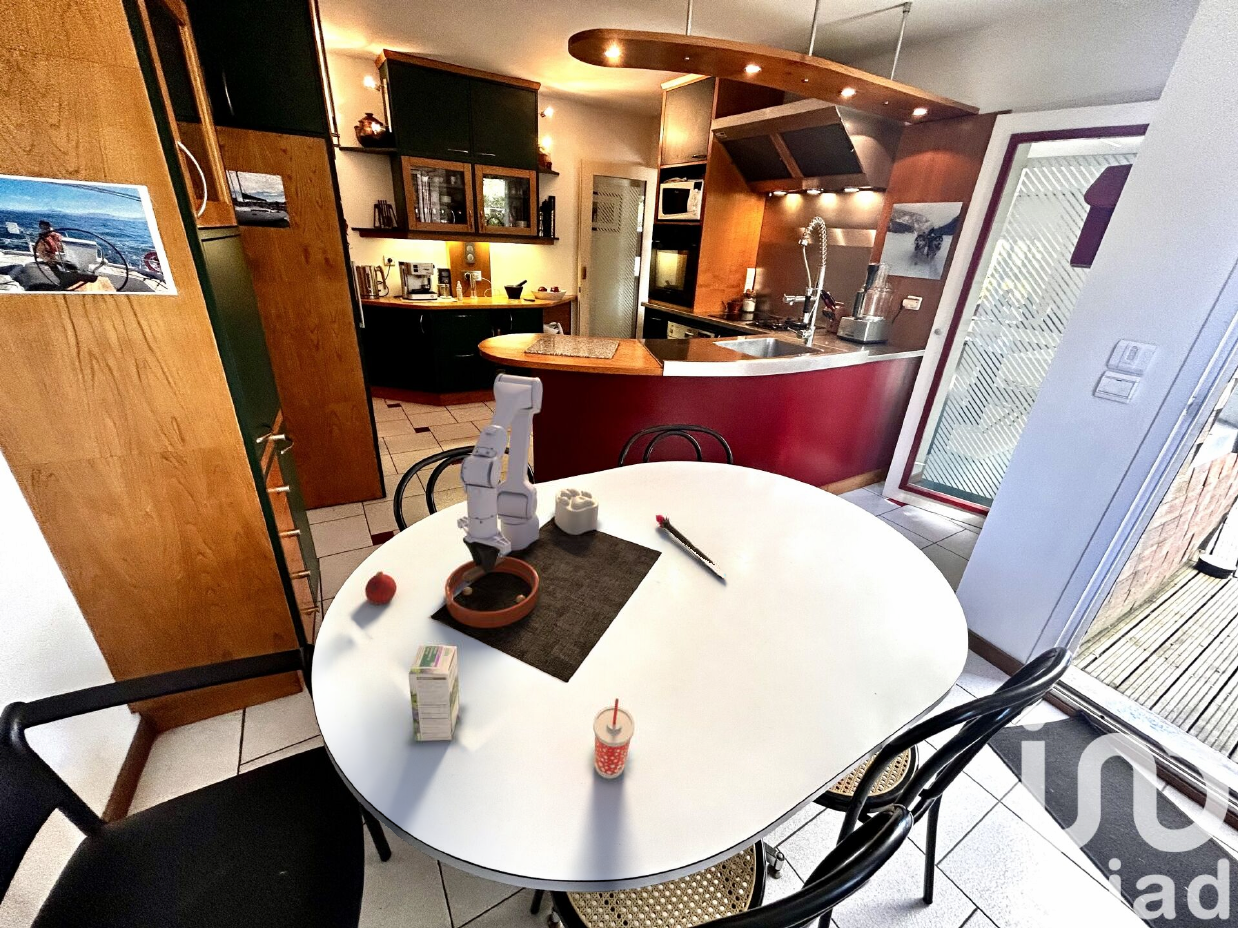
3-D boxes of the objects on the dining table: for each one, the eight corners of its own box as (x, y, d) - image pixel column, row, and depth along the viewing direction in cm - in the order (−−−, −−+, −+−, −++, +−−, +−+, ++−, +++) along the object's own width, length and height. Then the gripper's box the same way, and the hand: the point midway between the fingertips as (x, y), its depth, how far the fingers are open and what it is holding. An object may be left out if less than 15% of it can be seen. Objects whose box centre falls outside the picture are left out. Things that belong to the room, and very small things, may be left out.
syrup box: (424, 709, 81) (417, 643, 75) (461, 709, 82) (456, 643, 76) (414, 741, 76) (405, 673, 70) (453, 741, 77) (448, 673, 71)
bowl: (498, 563, 119) (498, 546, 117) (556, 599, 109) (556, 581, 107) (427, 602, 105) (426, 583, 103) (486, 648, 94) (485, 628, 92)
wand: (720, 573, 118) (650, 510, 140) (717, 586, 120) (648, 522, 142) (733, 568, 120) (662, 507, 142) (729, 581, 122) (660, 519, 144)
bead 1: (472, 594, 108) (464, 590, 108) (474, 587, 107) (466, 583, 107) (468, 599, 106) (460, 596, 106) (470, 592, 105) (461, 589, 105)
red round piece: (386, 615, 100) (382, 583, 97) (361, 609, 101) (356, 578, 98) (403, 597, 105) (399, 566, 102) (379, 591, 106) (375, 561, 103)
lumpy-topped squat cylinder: (570, 536, 132) (571, 509, 128) (546, 515, 141) (547, 488, 137) (601, 526, 138) (604, 499, 134) (576, 506, 147) (578, 480, 143)
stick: (500, 560, 109) (499, 551, 108) (507, 564, 108) (507, 555, 106) (460, 582, 101) (459, 572, 100) (467, 587, 100) (467, 577, 99)
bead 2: (519, 591, 106) (527, 595, 106) (517, 597, 107) (525, 601, 107) (515, 598, 104) (524, 601, 104) (513, 604, 105) (522, 607, 105)
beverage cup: (597, 739, 79) (603, 677, 73) (633, 752, 78) (642, 689, 72) (583, 775, 74) (589, 710, 68) (622, 789, 72) (631, 724, 66)
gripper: (443, 506, 99) (447, 561, 105) (490, 533, 91) (492, 591, 97) (472, 494, 104) (474, 547, 110) (518, 519, 97) (518, 575, 102)
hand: (484, 567), depth 104 cm, fingers closed on stick, 2 cm apart
